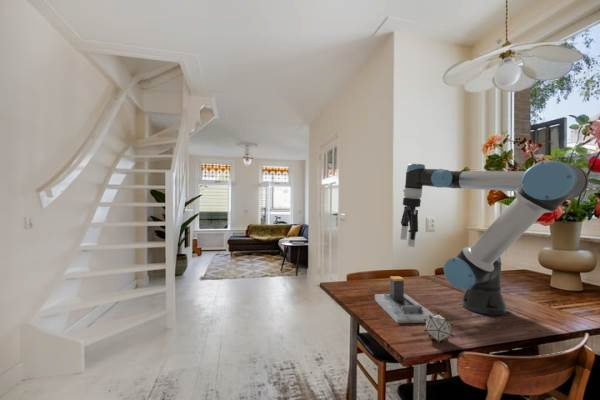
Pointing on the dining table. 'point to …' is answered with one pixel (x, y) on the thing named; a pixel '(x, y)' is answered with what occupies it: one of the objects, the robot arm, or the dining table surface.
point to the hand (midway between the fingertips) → (406, 242)
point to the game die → (438, 327)
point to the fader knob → (397, 288)
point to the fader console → (403, 309)
